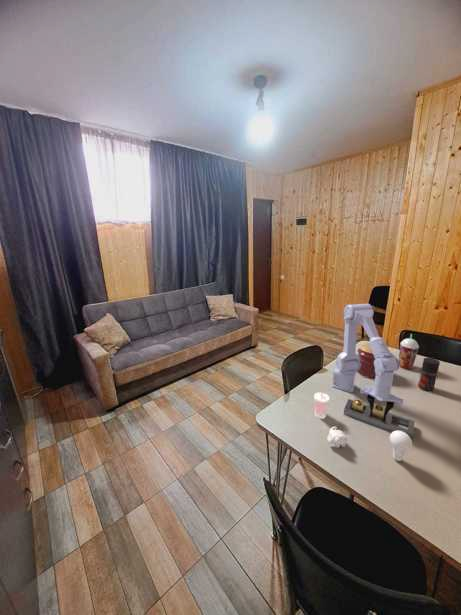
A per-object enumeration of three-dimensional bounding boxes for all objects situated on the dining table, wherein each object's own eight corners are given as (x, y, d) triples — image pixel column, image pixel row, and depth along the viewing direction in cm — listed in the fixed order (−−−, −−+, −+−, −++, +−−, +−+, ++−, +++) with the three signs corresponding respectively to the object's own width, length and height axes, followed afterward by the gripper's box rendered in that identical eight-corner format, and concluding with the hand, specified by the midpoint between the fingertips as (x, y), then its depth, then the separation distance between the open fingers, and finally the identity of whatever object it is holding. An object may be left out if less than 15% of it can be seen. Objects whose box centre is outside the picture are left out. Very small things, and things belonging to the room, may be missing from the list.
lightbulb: (382, 452, 86) (386, 427, 83) (398, 450, 87) (403, 425, 84) (394, 468, 80) (400, 441, 77) (412, 466, 81) (418, 439, 78)
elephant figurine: (322, 438, 93) (323, 425, 92) (343, 436, 94) (344, 423, 92) (331, 453, 87) (332, 439, 85) (352, 451, 87) (354, 437, 86)
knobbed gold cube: (371, 418, 101) (373, 407, 99) (372, 413, 104) (374, 401, 102) (382, 422, 99) (384, 411, 97) (383, 416, 102) (385, 405, 100)
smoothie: (418, 370, 135) (425, 337, 129) (402, 370, 135) (409, 337, 129) (407, 362, 143) (413, 331, 137) (393, 363, 143) (398, 331, 137)
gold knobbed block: (351, 413, 105) (352, 402, 104) (353, 408, 108) (354, 397, 107) (361, 417, 103) (362, 406, 101) (363, 412, 106) (364, 401, 104)
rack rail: (343, 413, 105) (344, 409, 104) (348, 403, 111) (348, 398, 110) (412, 439, 91) (413, 434, 90) (413, 426, 97) (414, 421, 97)
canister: (357, 363, 144) (361, 335, 139) (383, 370, 137) (387, 341, 132) (353, 373, 134) (356, 344, 129) (380, 381, 127) (385, 350, 122)
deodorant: (436, 392, 117) (442, 364, 112) (421, 391, 118) (427, 363, 114) (429, 385, 122) (435, 358, 118) (415, 384, 123) (421, 357, 119)
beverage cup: (316, 407, 109) (319, 380, 105) (330, 414, 105) (333, 386, 101) (310, 414, 105) (312, 386, 101) (323, 422, 101) (326, 392, 97)
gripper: (360, 383, 98) (356, 412, 101) (404, 396, 89) (398, 427, 93) (363, 375, 103) (360, 402, 107) (405, 386, 94) (400, 416, 98)
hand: (378, 413), depth 100 cm, fingers closed on knobbed gold cube, 4 cm apart
